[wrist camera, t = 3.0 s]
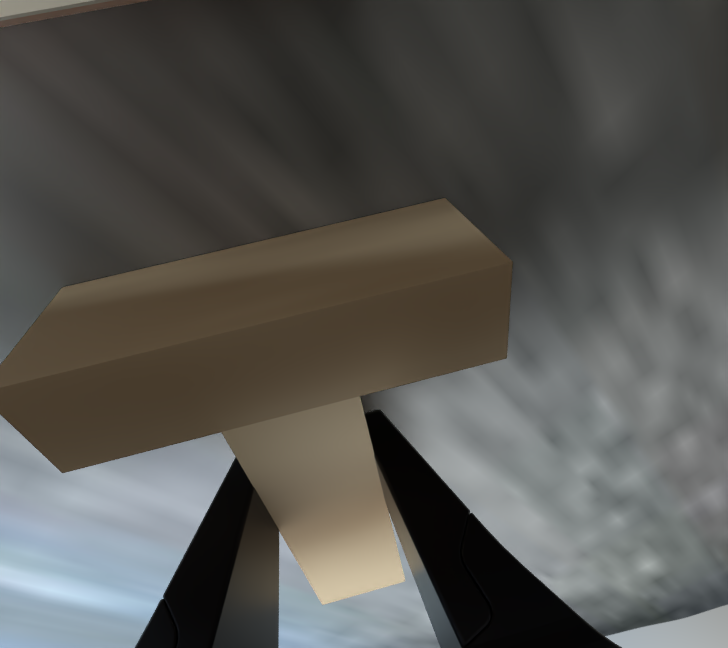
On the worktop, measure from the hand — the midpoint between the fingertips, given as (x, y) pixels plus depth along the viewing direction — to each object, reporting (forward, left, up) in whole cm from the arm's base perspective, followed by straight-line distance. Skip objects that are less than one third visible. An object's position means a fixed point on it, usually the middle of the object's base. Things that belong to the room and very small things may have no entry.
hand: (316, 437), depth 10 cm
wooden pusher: (0, +1, -2) cm, 2 cm away
